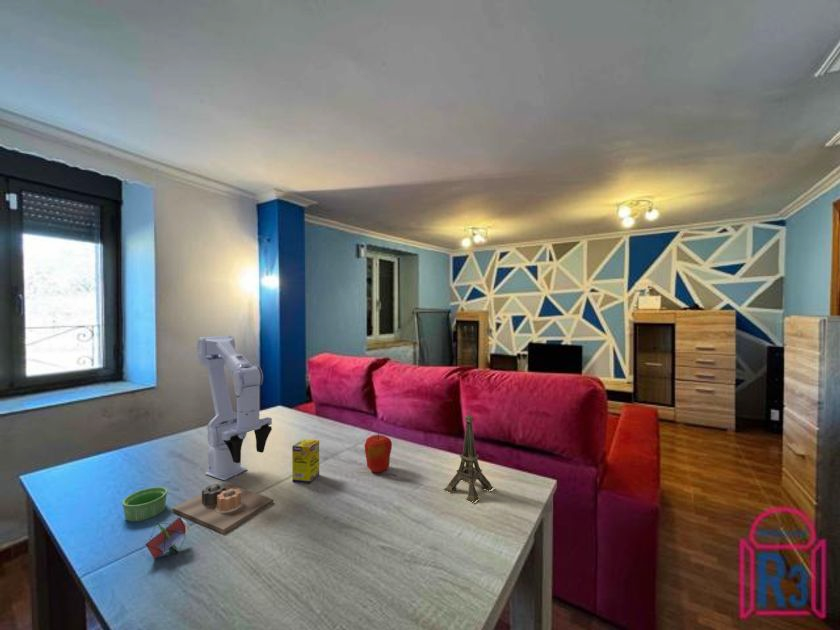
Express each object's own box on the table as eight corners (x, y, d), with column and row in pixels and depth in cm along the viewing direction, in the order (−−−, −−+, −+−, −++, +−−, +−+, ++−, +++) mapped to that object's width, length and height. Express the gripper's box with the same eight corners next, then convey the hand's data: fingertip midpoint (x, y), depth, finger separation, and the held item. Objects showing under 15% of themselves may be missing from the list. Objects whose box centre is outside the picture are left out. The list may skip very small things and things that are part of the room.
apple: (359, 473, 108) (359, 436, 108) (373, 462, 116) (372, 427, 116) (384, 478, 105) (384, 439, 105) (396, 466, 113) (396, 430, 112)
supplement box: (310, 484, 101) (309, 447, 101) (291, 482, 103) (291, 445, 103) (320, 474, 107) (319, 439, 107) (302, 472, 109) (302, 438, 108)
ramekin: (117, 527, 82) (117, 509, 81) (128, 508, 89) (128, 491, 89) (164, 517, 86) (163, 499, 86) (170, 499, 94) (170, 483, 94)
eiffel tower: (443, 490, 98) (443, 403, 97) (465, 477, 105) (464, 396, 105) (474, 504, 91) (474, 410, 90) (495, 489, 98) (495, 402, 98)
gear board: (172, 511, 88) (172, 494, 88) (224, 486, 100) (224, 471, 100) (223, 533, 79) (223, 514, 79) (273, 502, 92) (273, 486, 91)
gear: (212, 508, 87) (212, 496, 87) (232, 497, 92) (232, 486, 92) (226, 513, 85) (226, 501, 85) (245, 502, 90) (245, 491, 90)
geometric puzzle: (144, 564, 67) (172, 519, 71) (130, 551, 70) (157, 508, 74) (178, 567, 72) (202, 524, 76) (163, 555, 75) (187, 514, 79)
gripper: (234, 418, 90) (234, 470, 90) (278, 404, 103) (279, 449, 103) (216, 415, 93) (217, 465, 93) (262, 402, 106) (262, 445, 106)
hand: (248, 456), depth 98 cm, fingers open, 7 cm apart
